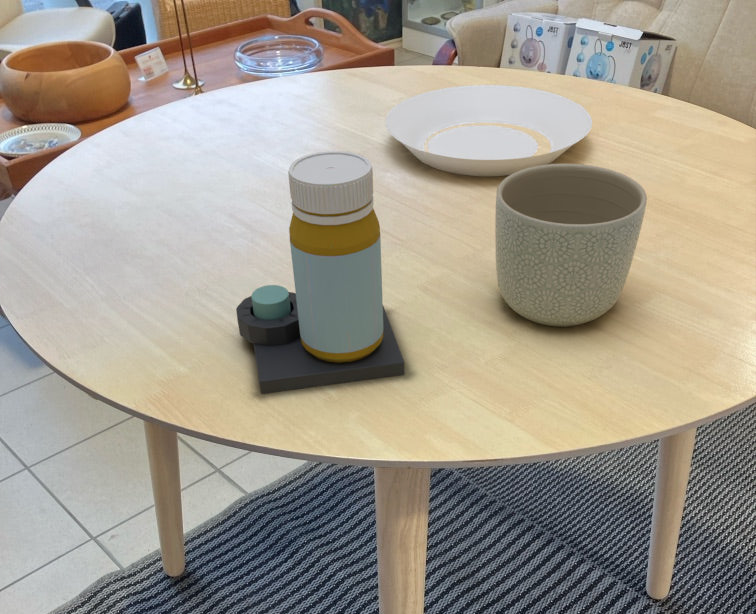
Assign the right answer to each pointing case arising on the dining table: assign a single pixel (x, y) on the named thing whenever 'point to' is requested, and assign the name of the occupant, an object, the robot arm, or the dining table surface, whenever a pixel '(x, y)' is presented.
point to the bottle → (336, 255)
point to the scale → (309, 354)
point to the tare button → (271, 302)
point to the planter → (566, 240)
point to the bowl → (486, 127)
